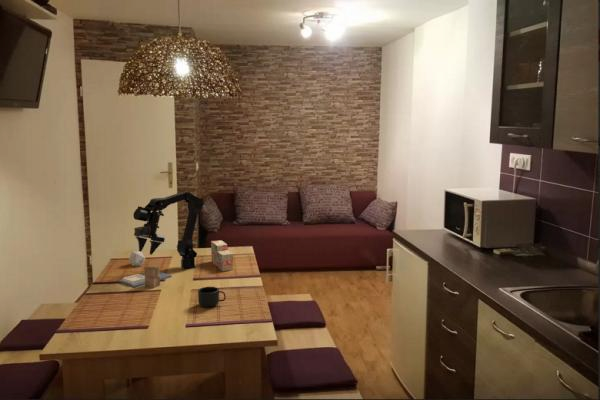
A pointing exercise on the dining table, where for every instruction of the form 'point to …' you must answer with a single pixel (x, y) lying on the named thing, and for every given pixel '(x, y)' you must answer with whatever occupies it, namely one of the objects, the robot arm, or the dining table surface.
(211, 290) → the mug
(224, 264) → the stack of blocks
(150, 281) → the pillar
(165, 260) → the dining table surface
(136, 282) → the board
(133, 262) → the die
